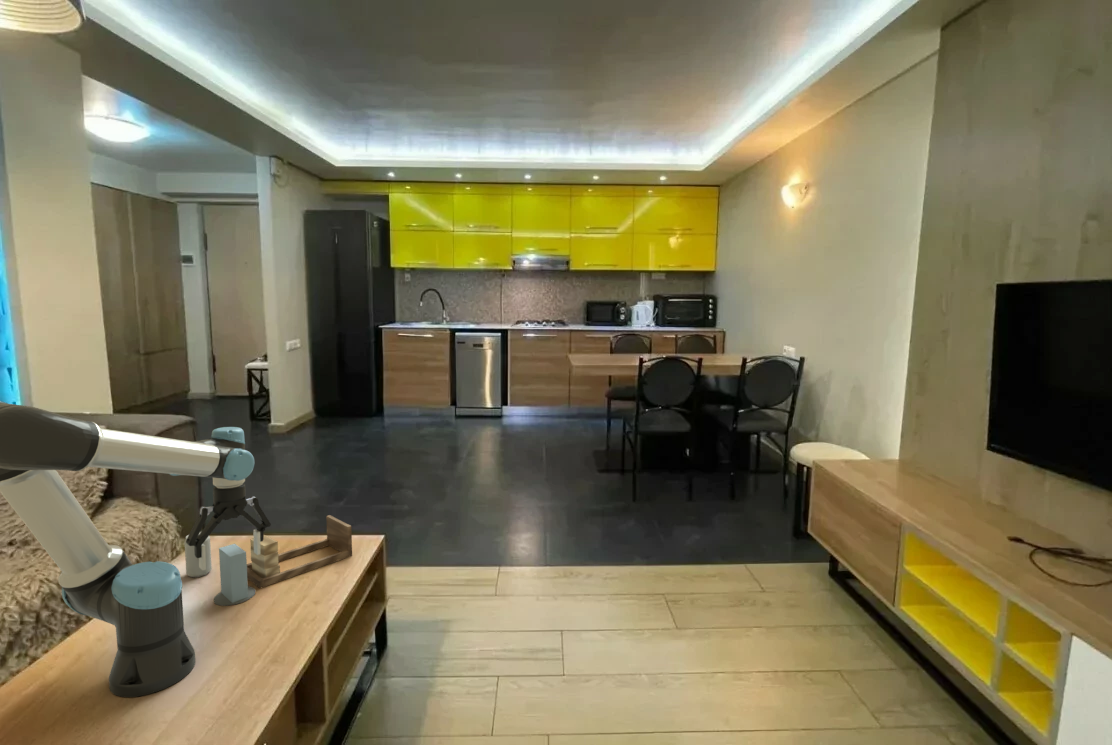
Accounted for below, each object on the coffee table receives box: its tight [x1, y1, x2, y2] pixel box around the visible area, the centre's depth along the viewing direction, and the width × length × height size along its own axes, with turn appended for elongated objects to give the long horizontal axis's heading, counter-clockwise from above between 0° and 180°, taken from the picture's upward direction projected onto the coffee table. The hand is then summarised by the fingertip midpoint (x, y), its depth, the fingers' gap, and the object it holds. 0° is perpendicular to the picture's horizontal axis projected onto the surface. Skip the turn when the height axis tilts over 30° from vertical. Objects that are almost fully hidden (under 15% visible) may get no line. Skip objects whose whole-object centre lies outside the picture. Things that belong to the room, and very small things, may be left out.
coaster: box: [213, 585, 256, 607], centre depth 152 cm, size 10×10×1 cm
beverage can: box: [184, 531, 212, 578], centre depth 164 cm, size 6×6×12 cm
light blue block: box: [218, 543, 249, 603], centre depth 151 cm, size 4×8×13 cm, turn 50°
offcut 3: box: [251, 561, 281, 579], centre depth 164 cm, size 4×10×4 cm, turn 50°
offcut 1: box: [250, 534, 279, 556], centre depth 163 cm, size 4×8×3 cm, turn 55°
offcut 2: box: [250, 548, 280, 570], centre depth 163 cm, size 4×9×4 cm, turn 51°
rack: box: [247, 514, 353, 589], centre depth 171 cm, size 28×14×10 cm, turn 140°
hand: (230, 560), depth 150 cm, fingers open, 13 cm apart
